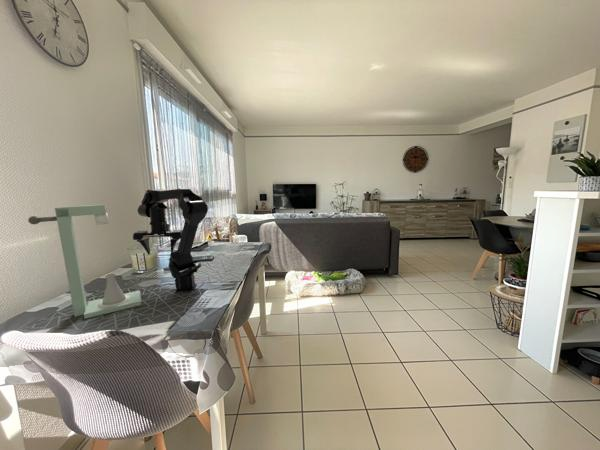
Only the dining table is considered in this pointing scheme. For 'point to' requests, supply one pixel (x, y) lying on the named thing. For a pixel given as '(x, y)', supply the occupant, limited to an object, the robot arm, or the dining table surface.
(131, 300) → the bench press
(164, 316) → the dining table surface
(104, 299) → the flask
